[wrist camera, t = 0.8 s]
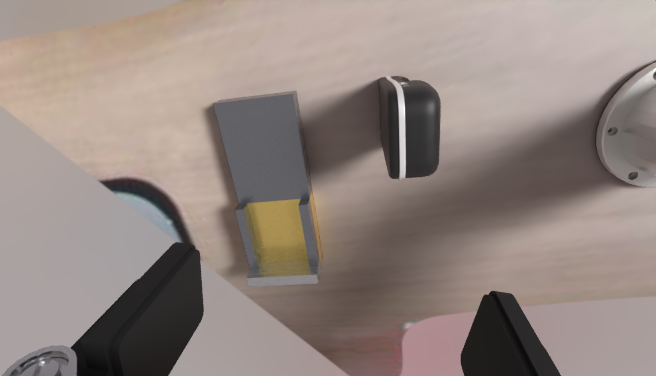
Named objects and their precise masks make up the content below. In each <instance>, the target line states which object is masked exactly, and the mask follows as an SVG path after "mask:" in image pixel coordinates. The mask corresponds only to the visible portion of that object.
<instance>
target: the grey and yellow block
mask: <svg viewBox="0 0 656 376" xmlns="http://www.w3.org/2000/svg"><path fill="white" fill-rule="evenodd" d="M213 106H214V110H215V113H216V117H217V121H218V125H219V129H220V133H221V137H222V141H223V144H224V148H225V152H226V156H227V160H228V164H229V168H230V171H231V175H232V179H233V183H234V187H235V191H236V195H237V198H238V202H239V204H238V206H237V207H236V209H235V210H234V211H235V215H236V218H237V222H238V226H239V230H240V233H241V237H242V241H243V245H244V248H245V252H246V256H247V260H248V263H249V267H250V271H249V273H248V276H247V278H246V279H247V283H248V286H249V287H255V286H276V285H297V284H318V282H319V276H320V270H321V264H322V258H323V256H322V249H321V243H320V237H319V231H318V224H317V218H316V212H315V206H314V199H313V193H312V187H311V180H310V174H309V168H308V162H307V155H306V149H305V143H304V136H303V130H302V124H301V118H300V111H299V105H298V99H297V93H296V91H292V92H283V93H275V94H267V95H259V96H251V97H243V98H235V99H226V100H220V101H218V102H215V103H213Z"/></svg>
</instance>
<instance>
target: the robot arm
mask: <svg viewBox="0 0 656 376" xmlns="http://www.w3.org/2000/svg"><path fill="white" fill-rule="evenodd" d="M596 146H597V151H598V156H599V158H600V160H601V162H602V164H603V165H604V166H605V168H606V169H607V170H608V171H609V172H610V173H611V174H613V175H614V176H616V177H617V178H619V179H621V180H623V181H625V182H627V183H629V184H633V185H637V186H640V187H652V188H654V187H656V62H655V63H653V64H651V65H649V66H647V67H646V68H644V69H643V70H641V71H640V72H638V73H637V74H635V75H634V76H633V77H632V78H631V79H629V80H628V81H627V82H626V83H625V84H624V85H623V86H622V87H621V88H620V89H619V90H618V91H617V92H616V94H615V95H614V96H613V97H612V99H611V100H610V102H609V103H608V105H607V106H606V108H605V110H604V112H603V114H602V117H601V119H600V121H599V125H598V129H597V135H596ZM200 267H201V266H200V253H199V250H195V247H194V245H191V244H185V243H178V242H176V243H174V244H173V245H172V246H171V247H170V248H169V249H168V250H167V251H166V252H165V253H164V254H163V255H162V256H161V257H160V258H159V259H158V260H157V261H156V262H155V263H154V264H153V265H152V267H151V268H150V269H149V270H148V271H147V272H146V273H145V274H144V275H143V276H142V277H141V278H140V279H138V280H137V281H136V282H134V283H133V284H132V285H131V286H130V287H129V288H128V289H127V290H126V291H125V292H124V293H123V294H122V295H121V297H120V298H119V299H118V300H117V301H116V302H115V303H114V304H113V305H112V306H111V307H110V308H109V309H108V310H107V311H106V312H105V313H104V314H103V315H102V316H101V317H100V318H99V319H98V320H97V321H96V322H95V323H94V324H93V325H92V326H91V327H90V328H89V329H88V330H87V332H85V334H84V335H83V336H82V337H81V338H80V339H79V340H78V341H77V342H76V343H75V344H74V345H73V346H72V347H71V348H69V347H65V346H50V347H46V348H42V349H39V350H37V351H34V352H32V353H29V354H28V355H26V356H24V357H23V358H21V359H19V360H18V361H17V362H15V363H14V364H13V365H12V366H10V367H9V368H8V369H7V370H6V371H5V373H4V374H3V375H2V376H168V375H169V374H170V372H171V370H172V369H173V366H174V365H175V364H176V362H177V360H178V359H179V357H180V355H181V354H182V352H183V350H184V349H185V347H186V345H187V343H188V342H189V340H190V339H191V337H192V335H193V333H194V332H195V330H196V328H197V327H198V325H199V323H200V322H201V320H202V317H203V312H204V311H203V310H204V308H203V295H202V280H201V268H200ZM461 366H462V369H463V373H464V376H561V375H560V373H559V372H558V370H557V368H556V366H555V365H554V363H553V361H552V360H551V358H550V356H549V354H548V352H547V351H546V349H545V348H544V347H543V345H542V344H541V342H540V340H539V339H538V337H537V335H536V333H535V332H534V330H533V328H532V327H531V325H530V323H529V321H528V320H527V318H526V316H525V315H524V313H523V311H522V309H521V308H520V306H519V304H518V302H517V301H516V299H515V297H514V296H513V295H512V294H510V293H504V292H497V291H491V292H490V293H489V295H484V296H483V298H482V301H481V303H480V306H479V309H478V311H477V314H476V316H475V319H474V322H473V324H472V327H471V329H470V332H469V335H468V337H467V340H466V343H465V345H464V348H463V350H462V353H461Z"/></svg>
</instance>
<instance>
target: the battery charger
mask: <svg viewBox="0 0 656 376" xmlns="http://www.w3.org/2000/svg"><path fill="white" fill-rule="evenodd" d="M379 105H380V129H381V143H382V147H383V151H384V156H385V160H386V165H387V169H388V173H389V176H390V178H392V179H398V180H404V179H405V178H414V177H425V176H429V175H431V174H433V173H434V172H435V171H436V170H437V167H438V164H439V144H440V98H439V95H438V93H437V91H436V90H435V89H434V88H433V87H432V86H430V85H429V84H428V83H426V82H423V81H420V80H413V81H409V80H408V79H407V78H405V77H399V76H393V77H390V76H386V77H383V78H380V79H379Z"/></svg>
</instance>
